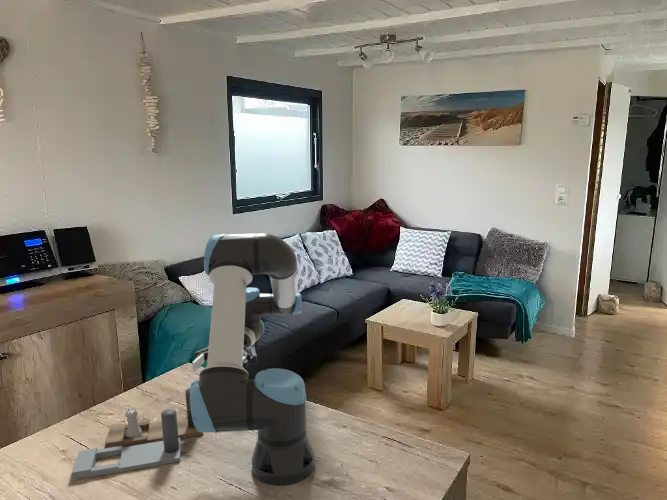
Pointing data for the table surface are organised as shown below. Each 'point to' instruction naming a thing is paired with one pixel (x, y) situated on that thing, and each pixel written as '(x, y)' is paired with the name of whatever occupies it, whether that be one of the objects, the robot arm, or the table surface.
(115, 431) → the brown board with post
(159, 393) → the table surface
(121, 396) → the table surface
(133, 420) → the rook chess piece
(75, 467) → the grey board with post
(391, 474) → the table surface
